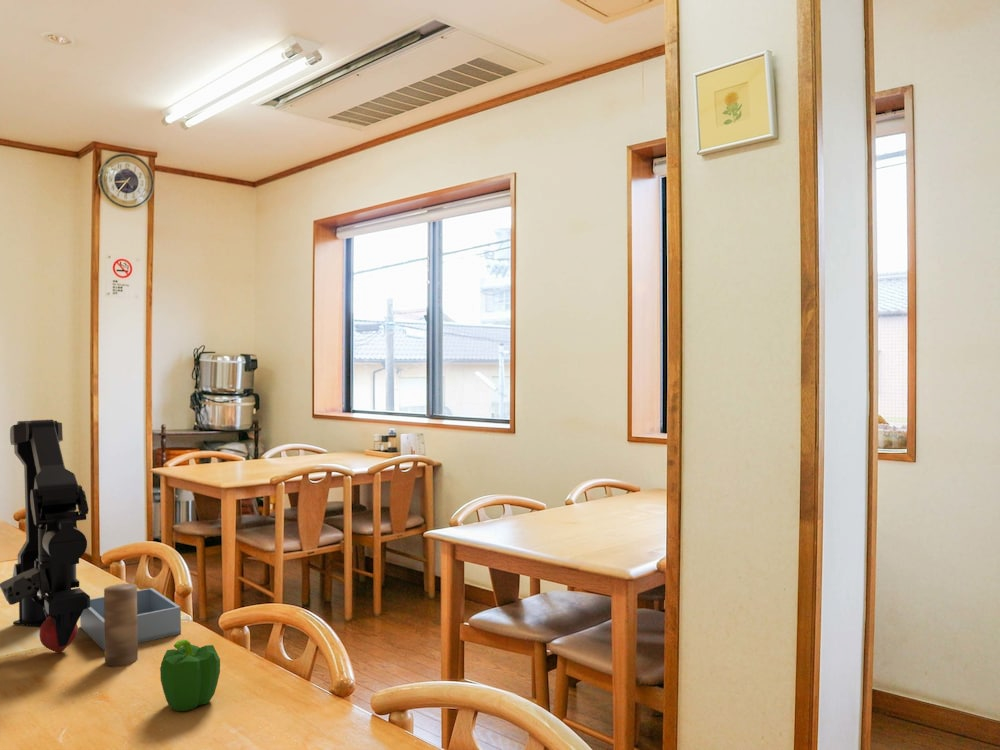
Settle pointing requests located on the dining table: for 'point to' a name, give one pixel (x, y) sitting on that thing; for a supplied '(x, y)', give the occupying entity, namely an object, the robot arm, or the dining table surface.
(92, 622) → the tote
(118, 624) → the canister
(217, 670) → the bell pepper
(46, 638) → the onion
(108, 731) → the dining table surface
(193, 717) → the dining table surface
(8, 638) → the dining table surface
